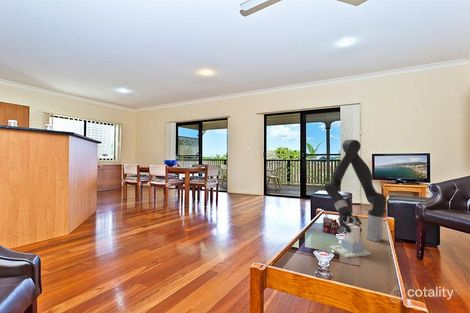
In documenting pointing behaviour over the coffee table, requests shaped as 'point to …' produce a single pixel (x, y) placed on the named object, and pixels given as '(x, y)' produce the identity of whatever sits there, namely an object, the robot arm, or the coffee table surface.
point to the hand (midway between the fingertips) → (355, 232)
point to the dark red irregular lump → (330, 225)
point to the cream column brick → (353, 234)
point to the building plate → (346, 253)
